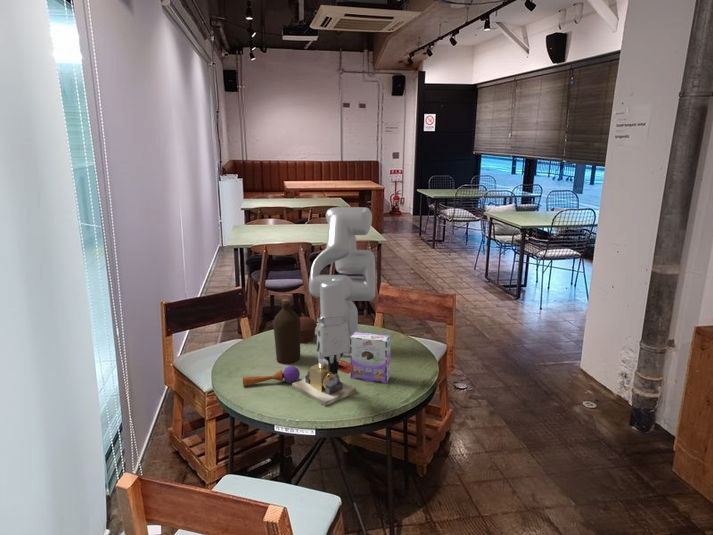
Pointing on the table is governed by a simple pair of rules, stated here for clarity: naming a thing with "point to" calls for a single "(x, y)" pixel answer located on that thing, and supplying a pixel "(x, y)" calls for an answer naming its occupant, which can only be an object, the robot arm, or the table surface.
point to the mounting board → (322, 396)
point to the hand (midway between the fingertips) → (333, 372)
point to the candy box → (370, 357)
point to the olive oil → (287, 334)
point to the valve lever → (342, 365)
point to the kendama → (275, 376)
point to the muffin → (307, 329)
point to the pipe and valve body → (323, 380)
